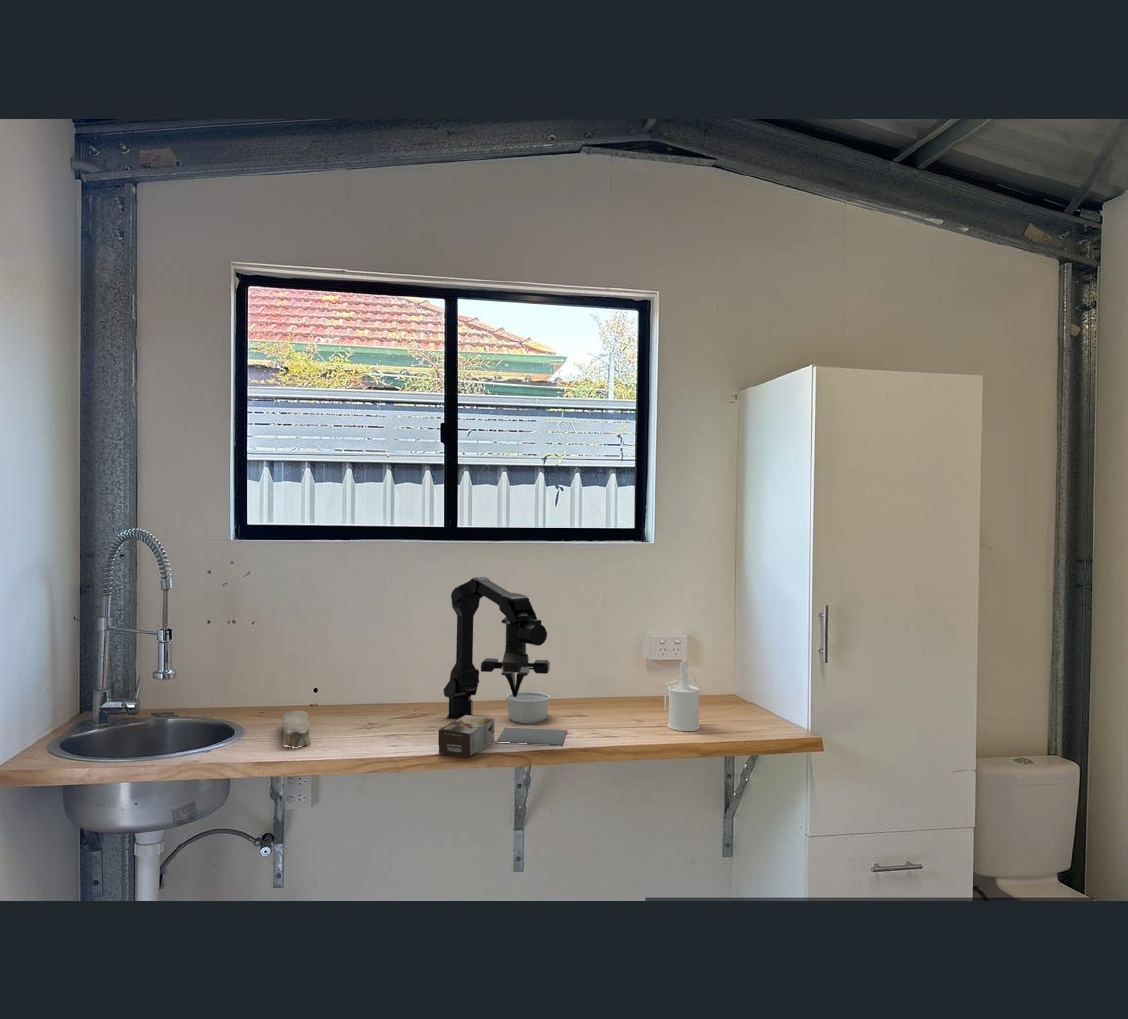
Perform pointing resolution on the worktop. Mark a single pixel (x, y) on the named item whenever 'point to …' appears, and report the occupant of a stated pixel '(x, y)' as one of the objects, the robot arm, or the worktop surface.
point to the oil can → (683, 702)
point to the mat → (532, 736)
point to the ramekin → (528, 707)
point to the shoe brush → (296, 728)
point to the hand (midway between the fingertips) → (515, 696)
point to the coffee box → (466, 736)
